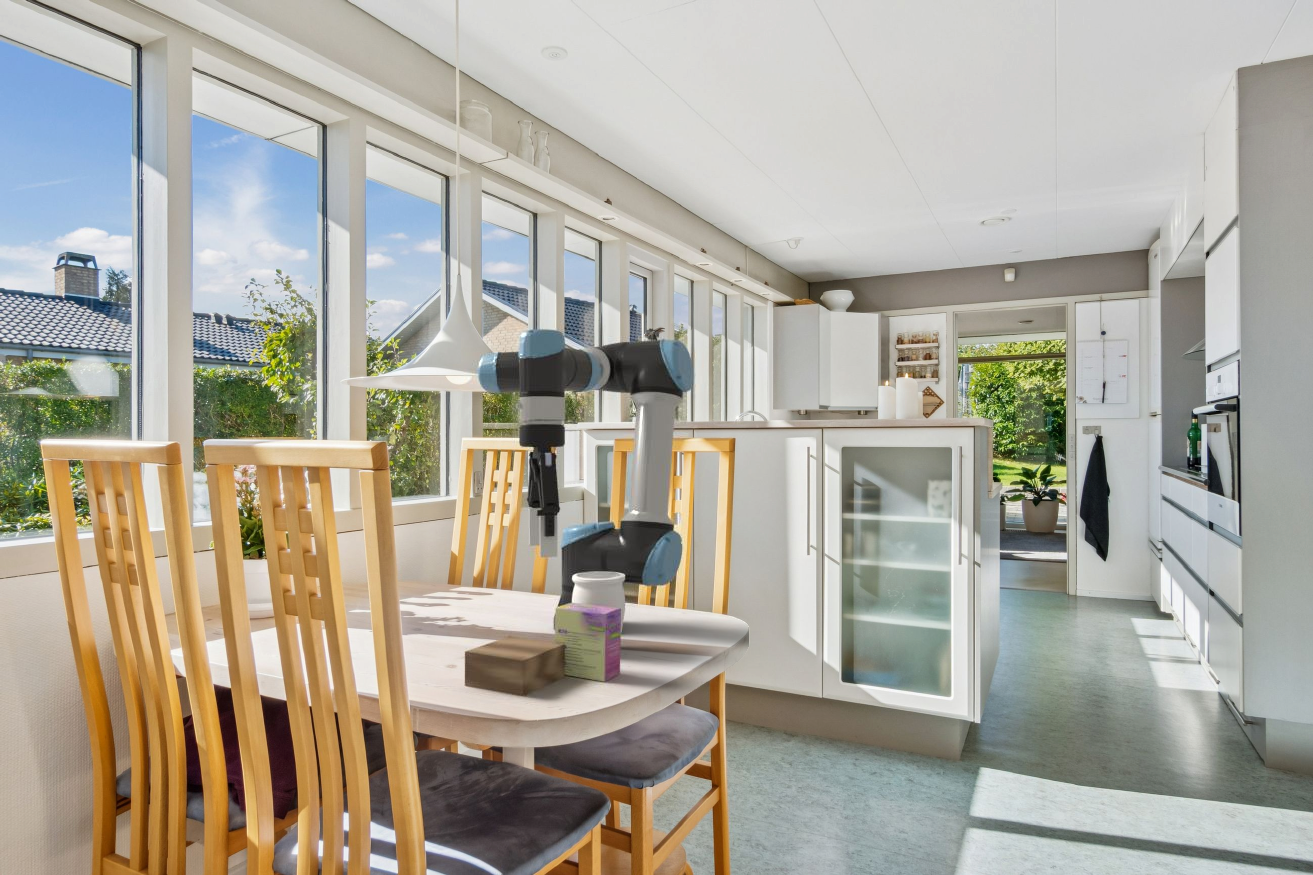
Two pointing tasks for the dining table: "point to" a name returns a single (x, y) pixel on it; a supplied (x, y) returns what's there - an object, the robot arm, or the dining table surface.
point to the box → (589, 640)
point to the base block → (514, 665)
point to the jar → (600, 590)
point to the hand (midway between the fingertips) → (542, 550)
